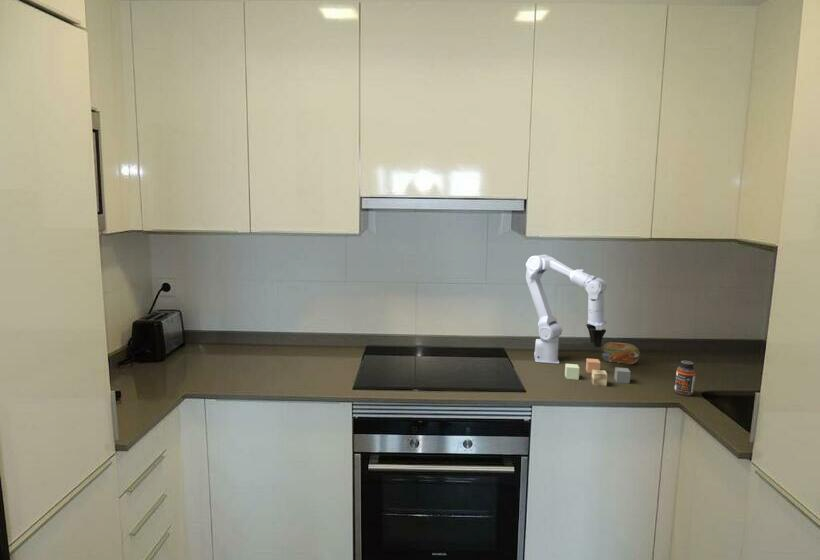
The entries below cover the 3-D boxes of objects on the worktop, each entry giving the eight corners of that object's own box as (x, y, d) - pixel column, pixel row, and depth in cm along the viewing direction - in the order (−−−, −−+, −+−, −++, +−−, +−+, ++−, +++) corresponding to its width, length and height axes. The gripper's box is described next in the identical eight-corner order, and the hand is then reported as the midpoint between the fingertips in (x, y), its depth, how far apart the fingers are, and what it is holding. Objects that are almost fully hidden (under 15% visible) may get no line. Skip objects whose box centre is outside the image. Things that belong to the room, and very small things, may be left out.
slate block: (616, 382, 195) (617, 371, 194) (614, 378, 199) (615, 367, 199) (629, 383, 194) (630, 372, 194) (626, 379, 199) (627, 368, 198)
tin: (600, 361, 220) (601, 341, 219) (599, 359, 223) (601, 339, 222) (639, 365, 216) (641, 345, 214) (638, 363, 219) (640, 343, 217)
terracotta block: (587, 373, 205) (588, 361, 205) (585, 369, 210) (586, 358, 209) (599, 374, 205) (600, 362, 204) (597, 370, 209) (598, 359, 208)
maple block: (593, 385, 192) (594, 373, 191) (591, 381, 196) (592, 369, 195) (606, 386, 191) (607, 374, 190) (604, 382, 195) (605, 370, 195)
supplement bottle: (672, 393, 185) (676, 362, 183) (675, 388, 190) (678, 358, 188) (692, 397, 182) (695, 365, 180) (694, 392, 187) (697, 361, 185)
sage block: (566, 378, 198) (566, 367, 197) (564, 374, 202) (565, 363, 202) (578, 379, 197) (579, 368, 197) (576, 375, 202) (577, 364, 201)
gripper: (610, 313, 196) (610, 349, 198) (603, 306, 211) (602, 340, 212) (590, 313, 198) (590, 349, 199) (584, 307, 212) (584, 340, 213)
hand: (595, 344), depth 206 cm, fingers open, 7 cm apart
